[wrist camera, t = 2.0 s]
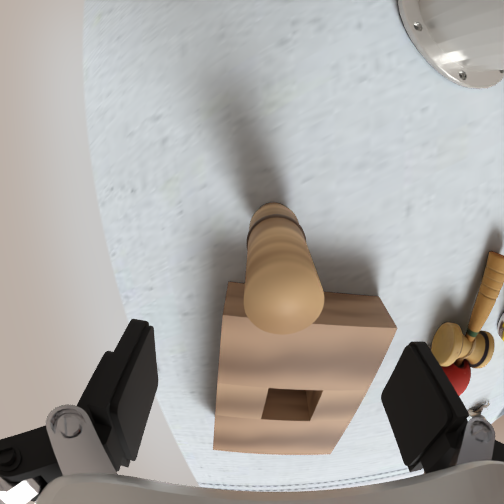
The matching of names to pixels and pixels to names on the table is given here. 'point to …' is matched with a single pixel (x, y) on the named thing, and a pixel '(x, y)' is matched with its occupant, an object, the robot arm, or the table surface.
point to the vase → (478, 412)
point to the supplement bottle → (501, 327)
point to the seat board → (296, 375)
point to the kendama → (470, 331)
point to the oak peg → (280, 273)
